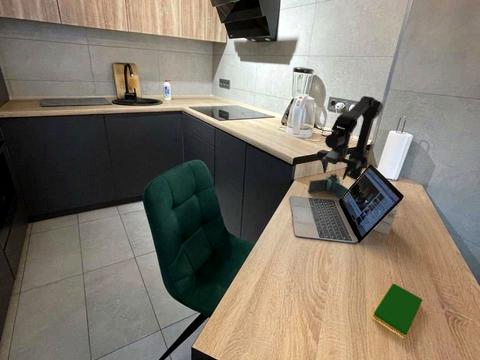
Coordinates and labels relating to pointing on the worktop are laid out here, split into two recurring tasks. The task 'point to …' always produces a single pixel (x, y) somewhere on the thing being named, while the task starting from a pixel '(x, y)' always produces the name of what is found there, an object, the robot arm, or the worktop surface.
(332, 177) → the hinge pin
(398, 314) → the dish sponge
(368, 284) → the worktop surface
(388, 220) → the light bulb box
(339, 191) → the hinge
